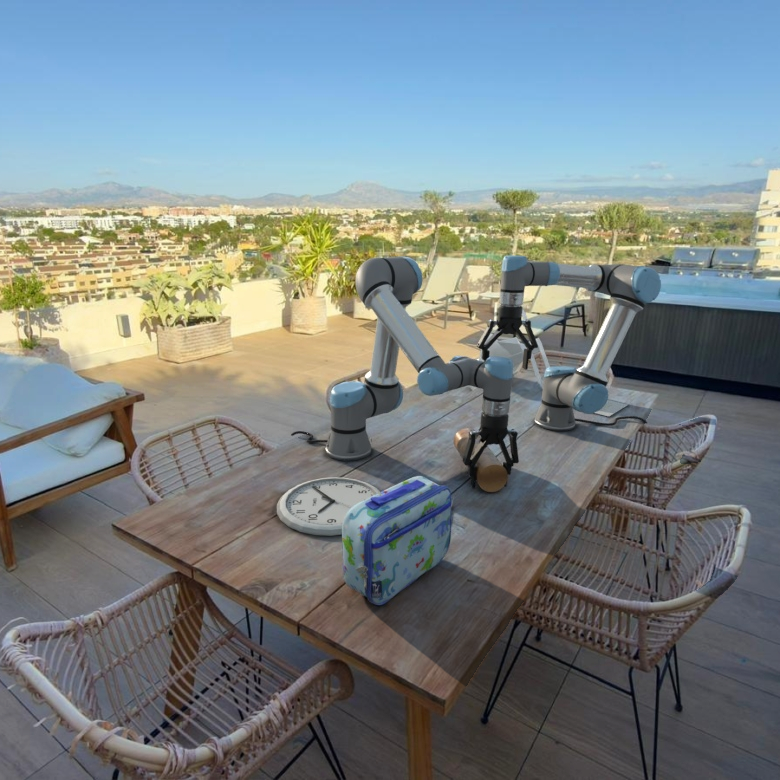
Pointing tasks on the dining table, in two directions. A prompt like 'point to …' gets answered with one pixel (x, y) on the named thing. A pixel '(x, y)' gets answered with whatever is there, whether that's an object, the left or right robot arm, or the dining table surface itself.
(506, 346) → the white plastic object
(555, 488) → the dining table surface
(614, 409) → the invitation card
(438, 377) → the left robot arm
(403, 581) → the lunch box
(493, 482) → the rod
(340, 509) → the wall clock
